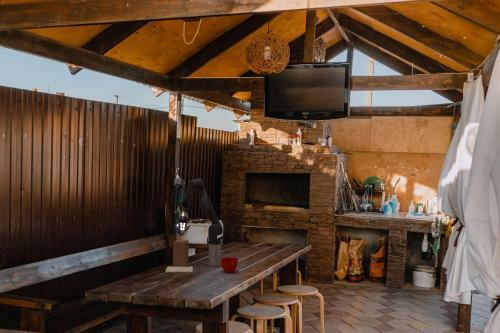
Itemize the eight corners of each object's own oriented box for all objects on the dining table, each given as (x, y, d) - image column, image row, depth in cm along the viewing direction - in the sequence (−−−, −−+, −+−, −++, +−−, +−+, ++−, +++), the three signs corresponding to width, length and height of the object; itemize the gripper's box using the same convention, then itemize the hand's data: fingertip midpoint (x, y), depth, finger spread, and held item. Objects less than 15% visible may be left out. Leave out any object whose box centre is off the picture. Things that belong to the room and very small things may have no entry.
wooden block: (184, 267, 401) (185, 241, 402) (172, 266, 403) (173, 241, 404) (188, 265, 411) (189, 240, 411) (176, 264, 413) (177, 239, 413)
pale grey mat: (193, 267, 401) (193, 266, 401) (192, 272, 382) (192, 271, 382) (167, 267, 399) (167, 266, 399) (165, 272, 380) (165, 271, 380)
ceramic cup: (223, 274, 374) (224, 261, 374) (219, 270, 390) (219, 257, 390) (240, 274, 377) (241, 260, 377) (235, 270, 394) (235, 257, 394)
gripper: (175, 215, 432) (174, 231, 419) (190, 215, 433) (190, 231, 420) (175, 221, 437) (174, 237, 424) (191, 221, 438) (190, 237, 426)
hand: (182, 234), depth 422 cm, fingers closed
